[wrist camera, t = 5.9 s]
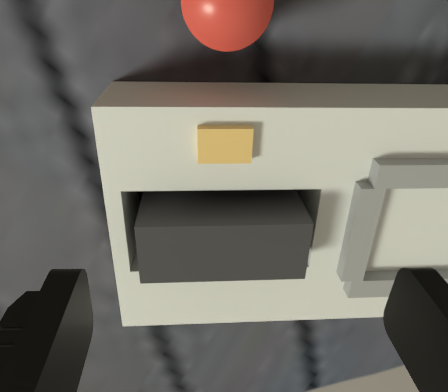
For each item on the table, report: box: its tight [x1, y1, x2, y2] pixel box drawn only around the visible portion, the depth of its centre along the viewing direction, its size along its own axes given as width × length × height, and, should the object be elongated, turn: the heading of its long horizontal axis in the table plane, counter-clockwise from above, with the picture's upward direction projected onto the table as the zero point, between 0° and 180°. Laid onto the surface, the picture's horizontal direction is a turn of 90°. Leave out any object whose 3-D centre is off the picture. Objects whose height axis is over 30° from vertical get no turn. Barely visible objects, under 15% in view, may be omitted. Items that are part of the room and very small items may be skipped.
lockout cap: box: [181, 0, 274, 52], centre depth 21 cm, size 4×4×6 cm
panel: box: [91, 81, 448, 326], centre depth 26 cm, size 16×32×8 cm, turn 89°
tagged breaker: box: [134, 189, 314, 284], centre depth 26 cm, size 4×10×8 cm, turn 89°
